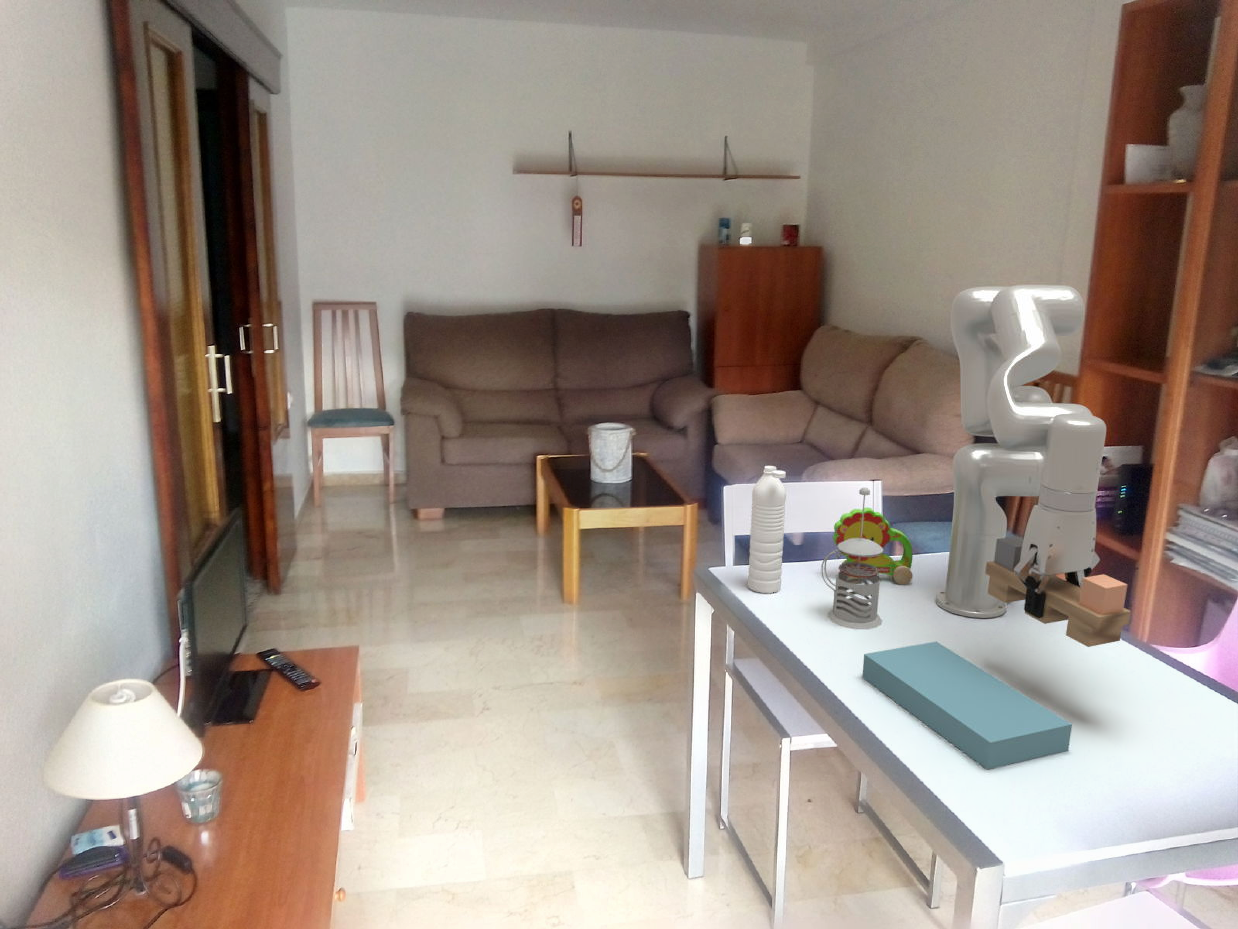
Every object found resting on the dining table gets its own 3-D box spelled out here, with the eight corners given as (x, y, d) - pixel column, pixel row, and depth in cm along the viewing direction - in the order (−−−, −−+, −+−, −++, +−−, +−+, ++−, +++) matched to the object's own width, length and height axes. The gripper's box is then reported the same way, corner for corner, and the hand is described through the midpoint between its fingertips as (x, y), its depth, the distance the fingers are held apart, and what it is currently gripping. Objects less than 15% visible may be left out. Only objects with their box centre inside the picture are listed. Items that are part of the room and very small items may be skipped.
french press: (873, 633, 165) (884, 498, 159) (810, 619, 171) (819, 488, 165) (889, 615, 173) (900, 485, 167) (828, 602, 179) (837, 476, 173)
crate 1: (1013, 559, 150) (1016, 536, 149) (1032, 568, 146) (1035, 544, 145) (993, 562, 149) (996, 538, 148) (1012, 571, 145) (1015, 547, 144)
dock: (934, 663, 153) (936, 641, 152) (1068, 750, 128) (1072, 724, 127) (862, 677, 149) (864, 654, 148) (987, 769, 123) (990, 742, 122)
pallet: (1012, 586, 152) (1016, 557, 151) (1125, 643, 132) (1131, 611, 131) (983, 591, 150) (986, 562, 149) (1093, 650, 130) (1099, 617, 129)
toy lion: (906, 576, 193) (912, 506, 189) (912, 586, 187) (919, 514, 184) (828, 574, 194) (833, 503, 190) (832, 583, 188) (837, 511, 185)
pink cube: (1099, 600, 135) (1104, 574, 134) (1123, 610, 131) (1127, 584, 130) (1078, 603, 133) (1082, 577, 132) (1101, 615, 130) (1105, 588, 129)
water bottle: (743, 583, 188) (748, 463, 182) (773, 580, 189) (779, 461, 183) (758, 599, 180) (765, 474, 173) (790, 597, 181) (797, 472, 175)
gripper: (1091, 485, 143) (1074, 594, 147) (1001, 496, 137) (987, 609, 142) (1132, 499, 136) (1113, 613, 141) (1040, 512, 130) (1024, 630, 135)
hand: (1050, 610), depth 141 cm, fingers closed on pallet, 6 cm apart
